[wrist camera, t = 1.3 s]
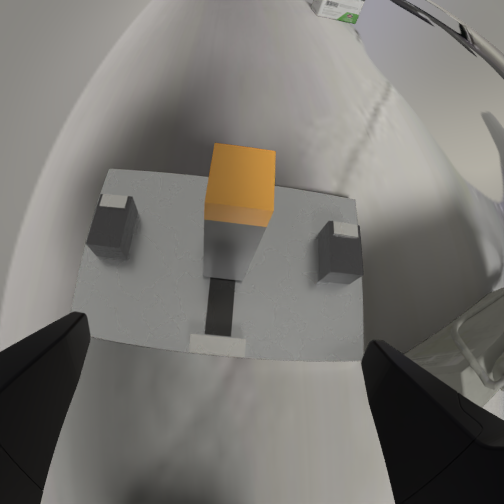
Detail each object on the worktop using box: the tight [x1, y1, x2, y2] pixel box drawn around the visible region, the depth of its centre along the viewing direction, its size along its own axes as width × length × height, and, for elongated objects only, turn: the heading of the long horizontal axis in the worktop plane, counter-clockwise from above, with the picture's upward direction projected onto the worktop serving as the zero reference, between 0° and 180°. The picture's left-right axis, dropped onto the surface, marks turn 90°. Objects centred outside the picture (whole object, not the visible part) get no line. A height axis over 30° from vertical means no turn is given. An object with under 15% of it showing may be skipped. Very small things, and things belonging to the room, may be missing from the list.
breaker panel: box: [71, 169, 363, 361], centre depth 22 cm, size 14×22×4 cm, turn 86°
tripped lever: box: [203, 143, 276, 281], centre depth 17 cm, size 3×3×10 cm
